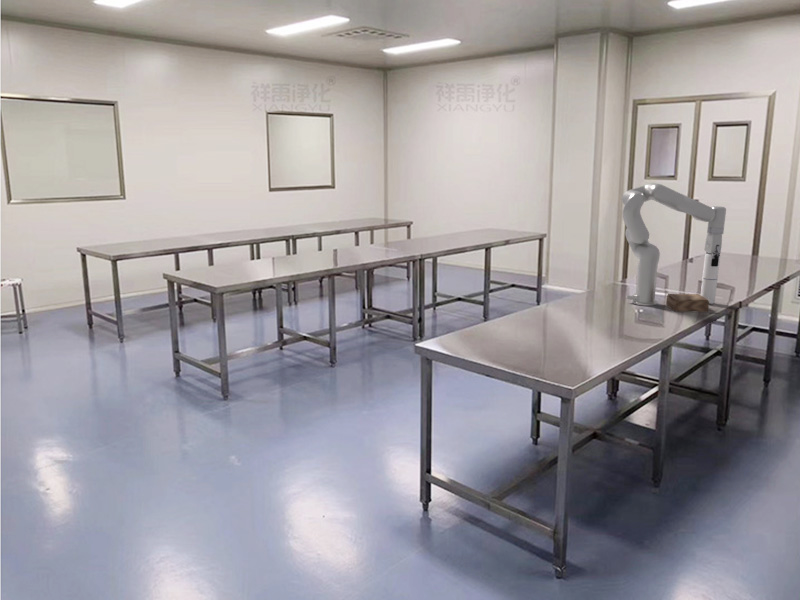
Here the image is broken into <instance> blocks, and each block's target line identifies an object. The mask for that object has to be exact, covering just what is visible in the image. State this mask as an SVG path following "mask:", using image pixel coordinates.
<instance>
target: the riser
mask: <svg viewBox="0 0 800 600" xmlns="http://www.w3.org/2000/svg"><path fill="white" fill-rule="evenodd" d="M665 303H666V304H665V305H666V306H667V307H669V309H671V310H672V311H674V312H686V311H689V313H691V312H690V311H698V312H697V313H699V312H700V313H702V312H704V313H706V311H707V313H708V312H709V309H710V308H709V307H710V303H709V301H708V299H706V298H704V297H702V296H701V295H700V294H698V293H668V294H667V295H666V300H665Z"/></svg>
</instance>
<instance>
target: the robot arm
mask: <svg viewBox="0 0 800 600" xmlns="http://www.w3.org/2000/svg"><path fill="white" fill-rule="evenodd" d="M651 200H652V201H655V202H657V203H658V204H661V205H663V206H665V207H667V208H669V209H671V210H674V211H677V212H680V213H684V214H687V215H689V216H692V218H693V219H694V220H696V221H699V222H700V221H701V222H705V223H707V228H706V229H707V232H706V239H705V244H704V252H706V253H705V254H712V255H713V258H712V262H711V266H718V261H719V256H720V257H721V253H722V244H723V243H722V242H723V235H724V232H725V230H724V229H725V222H726V213H727V208H726V207H725V206H719V205H717V206H709V205H708V204H707V205H706V204H705V203H702V202H700V201H698V200H696V199H693V198H691V197H689V196H687V195H685V194H682V193H680V192H679V191H676V190H674V189H671V188H670V187H668V186H666V185H663V184H661V183H655V182H651V183H647V184H645V185H642V186H639V187H635V188H631V189H628V190H627V191H625V192H624V193H622V197H621V201H622V203H623V205H624V206H623V209H622V218H623V219H622V220H623V221H624V225H625V227H626V229H625V233H624V234H625V238H626V241H627V242H628V245H629V247H630V249H631V251H632V253H633V254H634V256H635V258H636V259H639V261H638V265H637V273H636V288H635V293H634V294H633V295H626V296H625V298H626V300H630V301H631V302H632V304H634V305H637V306H638V305H639V306H644V307H646V306H647V307H648V306H649V307H652V306H656V305H659V302H658V301H657V300H655V299H656V289H657V288H656V287H657V275H658V265H659V262H660V258H661V253H660V250H659V248H658V247H657V245H655V244H653V243H651V242H650V241H649V239H650V232H649V230H648V228H647V226H646V223H645V222H644V220H643V218H642V215H641V209H642V207H643V205H644V204H645V203H646V202H648V201H651ZM714 254H715V255H714Z"/></svg>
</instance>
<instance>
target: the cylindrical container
mask: <svg viewBox="0 0 800 600" xmlns="http://www.w3.org/2000/svg"><path fill="white" fill-rule="evenodd" d="M714 255H715V254H714ZM712 258H713V255H712V254H706V253H704V261H703V269H702V270H703V271H702V279H701V285H700V286H701V288H700V294H699V295H701V296H702V297H704V298H706V299H708V301H709V304H715V303H716V296H717V287H718V278H719V270H720V263H721V255H720V256H719V261H718V266H711V262H712Z"/></svg>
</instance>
